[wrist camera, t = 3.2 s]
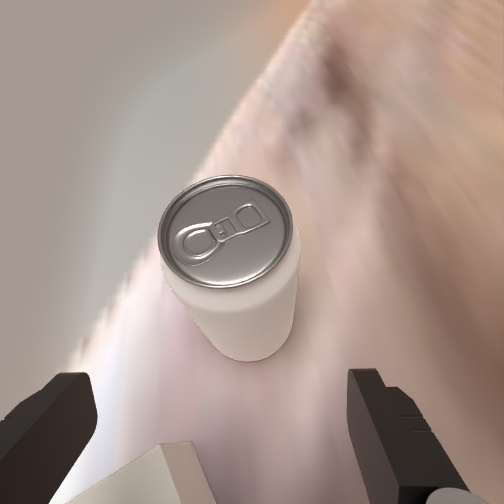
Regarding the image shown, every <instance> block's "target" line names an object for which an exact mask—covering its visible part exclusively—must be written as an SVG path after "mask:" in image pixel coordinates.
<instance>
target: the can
mask: <svg viewBox="0 0 504 504" xmlns="http://www.w3.org/2000/svg"><path fill="white" fill-rule="evenodd" d="M158 247H159V251H160V261H161V267H162V271H163V274H164V277H165V279H166V281H167V283H168V285H169V286H170V288H171V290H172V291H173V293H174V294H175V295H176V297H177V298H178V300H179V301H180V302H181V304H182V305H183V306H184V308H185V309H186V310H187V312H188V313H189V314H190V316H191V317H192V318H193V320H194V321H195V322H196V324H197V325H198V326H199V328H200V329H201V330H202V331H203V333H204V334H205V335H206V337H207V338H208V339H209V340H210V342H211V343H212V344H213V345H214V346H215V348H216V349H217V350H218V351H219V352H221V353H222V354H223V355H225V356H227V357H229V358H231V359H234V360H237V361H243V362H252V361H258V360H261V359H264V358H267V357H269V356H270V355H272V354H274V353H275V352H276V351H277V350H279V349H280V348H281V346H282V345H283V344H284V343H285V341H286V340H287V338H288V336H289V334H290V331H291V328H292V323H293V317H294V310H295V302H296V293H297V285H298V276H299V267H300V255H301V245H300V237H299V233H298V229H297V227H296V225H295V223H294V221H293V219H292V215H291V211H290V209H289V207H288V205H287V203H286V201H285V200H284V198H283V197H282V196H281V195H280V194H279V193H278V192H277V191H276V190H275V189H274V188H272V187H271V186H270V185H268V184H266V183H264V182H262V181H260V180H257V179H255V178H251V177H247V176H241V175H222V176H216V177H211V178H208V179H205V180H202V181H199V182H197V183H195V184H193V185H191V186H190V187H188V188H186V189H185V190H183V191H182V192H181V193H180V194H178V195H177V196H176V197H175V198H174V199H173V200H172V202H171V203H170V204H169V205H168V207H167V208H166V210H165V212H164V213H163V215H162V218H161V220H160V223H159V228H158Z"/></svg>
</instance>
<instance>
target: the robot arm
mask: <svg viewBox="0 0 504 504" xmlns="http://www.w3.org/2000/svg"><path fill="white" fill-rule="evenodd" d="M347 423H348V429H349V434H350V438H351V441H352V444H353V448H354V451H355V454H356V458H357V461H358V464H359V467H360V471H361V474H362V477H363V481H364V484H365V487H366V491H367V494H368V497H369V500H370V504H489V503H488V502H486V501H485V500H483V499H482V498H480V497H478V496H476V495H474V494H472V493H471V492H470V491H469V489H468V488H467V486H466V485H465V483H464V481H463V480H462V478H461V476H460V475H459V473H458V472H457V470H456V468H455V467H454V465H453V464H452V462H451V460H450V459H449V457H448V456H447V454H446V452H445V451H444V449H443V447H442V446H441V444H440V443H439V441H438V439H437V438H436V436H435V435H434V433H432V432H431V428H430V427H429V425H428V423H427V422H426V420H425V419H423V415H422V414H421V412H420V410H419V409H418V407H417V406H416V404H415V402H414V401H413V399H411V398H410V397H409V396H408V395H407V394H405V393H404V392H403V391H402V390H401V389H399V388H398V387H386V386H385V384H384V382H383V381H382V379H381V377H380V375H379V373H378V371H377V370H376V369H349V371H348V385H347ZM96 425H97V409H96V405H95V400H94V395H93V391H92V386H91V382H90V378H89V375H88V374H87V373H85V372H78V373H59V374H57V375H56V376H55V377H54V378H53V379H52V380H51V381H50V382H49V383H48V384H47V385H46V386H45V387H44V388H43V389H42V390H39V391H38V392H36V393H35V394H33V395H31V396H30V397H28V398H27V399H25V400H24V401H22V402H20V403H19V404H18V405H17V406H16V407H15V408H14V409H13V410H12V411H11V412H10V413H9V414H8V415H7V416H6V417H5V419H4V420H2V421H0V504H48V503H49V502H50V500H51V499H52V497H53V496H54V494H55V493H56V491H57V490H58V488H59V487H60V485H61V483H62V482H63V480H64V479H65V477H66V476H67V474H68V473H69V471H70V470H71V468H72V467H73V465H74V463H75V462H76V460H77V459H78V457H79V456H80V454H81V453H82V451H83V450H84V448H85V447H86V445H87V444H88V442H89V440H90V439H91V437H92V436H93V434H94V431H95V429H96Z"/></svg>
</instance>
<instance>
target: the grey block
mask: <svg viewBox="0 0 504 504" xmlns="http://www.w3.org/2000/svg"><path fill="white" fill-rule="evenodd" d="M66 504H216V501H215V499H214V496H213V494H212V491H211V489H210V486H209V484H208V482H207V479H206V477H205V474H204V472H203V469H202V467H201V464H200V462H199V459H198V457H197V454H196V452H195V450H194V447H193V445H192V442H191V441H189V442H177V443H165V444H159V445H157V446H156V447H154V448H153V449H151V450H149V451H148V452H146V453H145V454H143V455H142V456H140V457H138V458H137V459H135V460H134V461H132V462H130V463H129V464H127V465H126V466H124V467H123V468H121V469H119V470H118V471H116V472H115V473H113V474H112V475H110V476H108V477H107V478H105V479H104V480H102V481H100V482H99V483H97V484H96V485H94V486H93V487H91V488H89V489H88V490H86V491H85V492H83V493H82V494H80V495H78V496H77V497H75V498H74V499H72V500H71V501H69V502H67V503H66Z"/></svg>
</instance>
